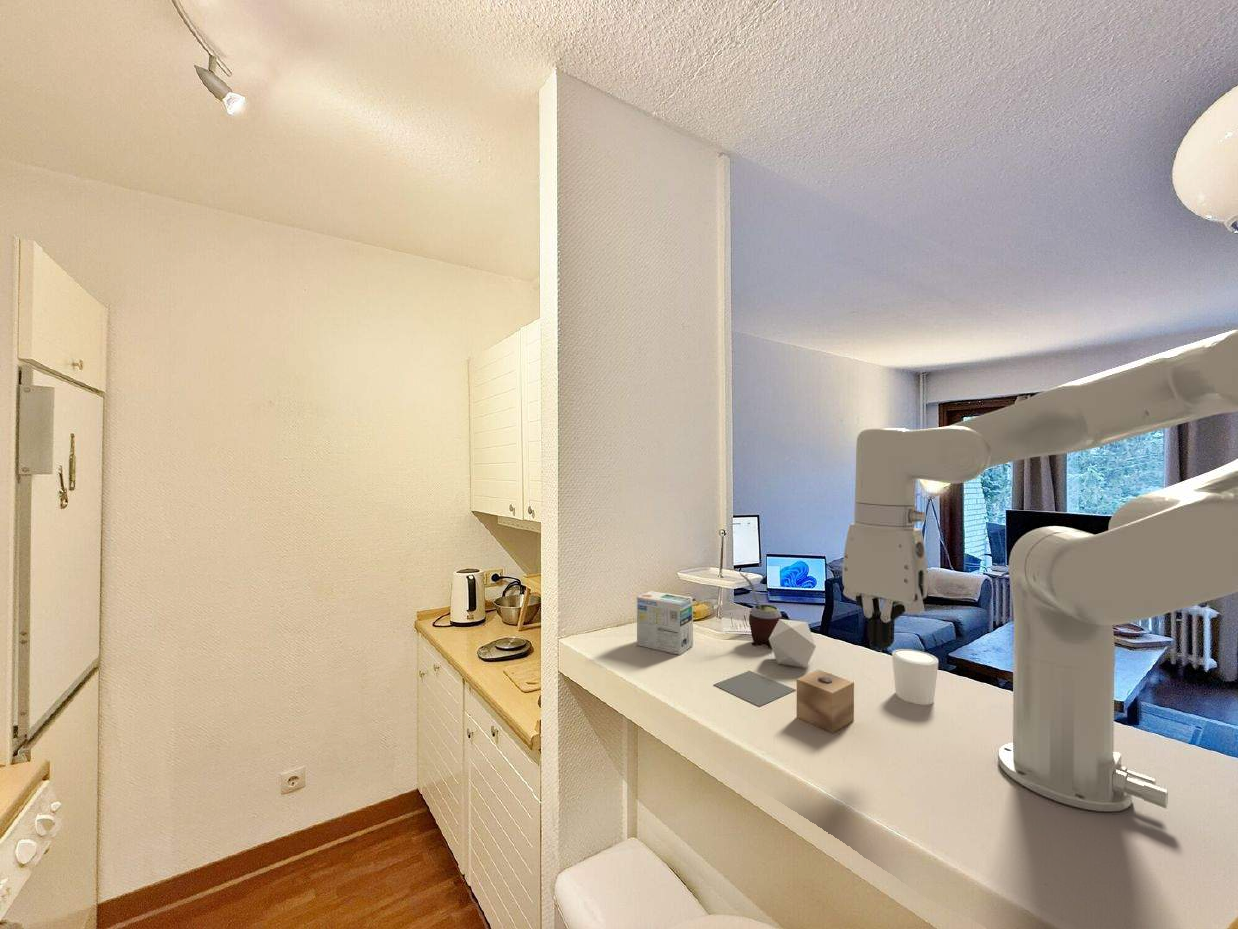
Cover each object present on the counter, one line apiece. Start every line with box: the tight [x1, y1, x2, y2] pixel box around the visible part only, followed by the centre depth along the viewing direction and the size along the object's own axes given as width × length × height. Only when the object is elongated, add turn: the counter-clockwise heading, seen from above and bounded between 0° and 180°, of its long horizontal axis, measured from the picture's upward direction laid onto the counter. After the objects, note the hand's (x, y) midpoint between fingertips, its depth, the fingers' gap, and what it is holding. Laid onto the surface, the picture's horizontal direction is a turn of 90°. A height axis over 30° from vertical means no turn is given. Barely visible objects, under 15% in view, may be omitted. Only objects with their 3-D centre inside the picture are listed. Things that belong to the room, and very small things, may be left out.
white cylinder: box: [891, 648, 939, 706], centre depth 86 cm, size 7×7×7 cm
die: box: [769, 618, 817, 669], centre depth 100 cm, size 8×9×10 cm
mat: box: [713, 670, 796, 708], centre depth 89 cm, size 10×10×1 cm
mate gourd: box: [739, 572, 783, 650], centre depth 111 cm, size 8×8×15 cm
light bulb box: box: [636, 590, 694, 656], centre depth 109 cm, size 11×7×11 cm, turn 58°
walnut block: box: [796, 669, 855, 734], centre depth 78 cm, size 6×6×6 cm
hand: (880, 646), depth 71 cm, fingers closed
